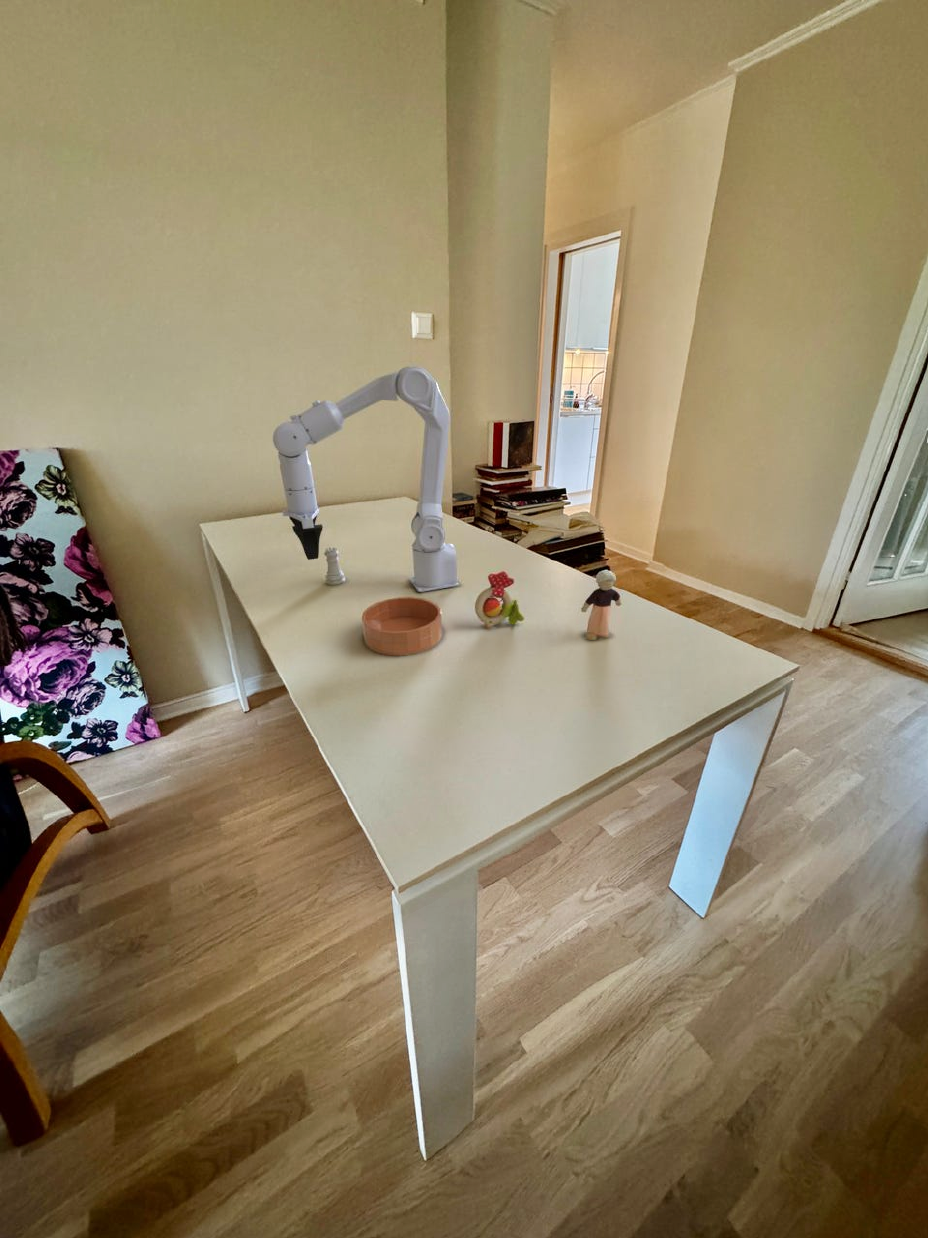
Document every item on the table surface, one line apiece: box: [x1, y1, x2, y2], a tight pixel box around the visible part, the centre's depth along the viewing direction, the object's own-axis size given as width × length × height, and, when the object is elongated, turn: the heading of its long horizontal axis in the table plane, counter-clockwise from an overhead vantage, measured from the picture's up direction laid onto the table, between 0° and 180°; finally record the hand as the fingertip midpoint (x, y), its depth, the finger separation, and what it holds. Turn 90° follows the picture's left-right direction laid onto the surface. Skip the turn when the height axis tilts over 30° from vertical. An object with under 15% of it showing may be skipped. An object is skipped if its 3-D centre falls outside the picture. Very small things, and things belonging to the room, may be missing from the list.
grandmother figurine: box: [580, 569, 622, 641], centre depth 85 cm, size 8×4×13 cm, turn 117°
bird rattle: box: [474, 570, 525, 629], centre depth 89 cm, size 6×11×9 cm
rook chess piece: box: [323, 546, 346, 586], centre depth 110 cm, size 4×4×8 cm
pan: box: [361, 596, 443, 656], centre depth 88 cm, size 14×14×4 cm
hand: (310, 552), depth 101 cm, fingers open, 7 cm apart
